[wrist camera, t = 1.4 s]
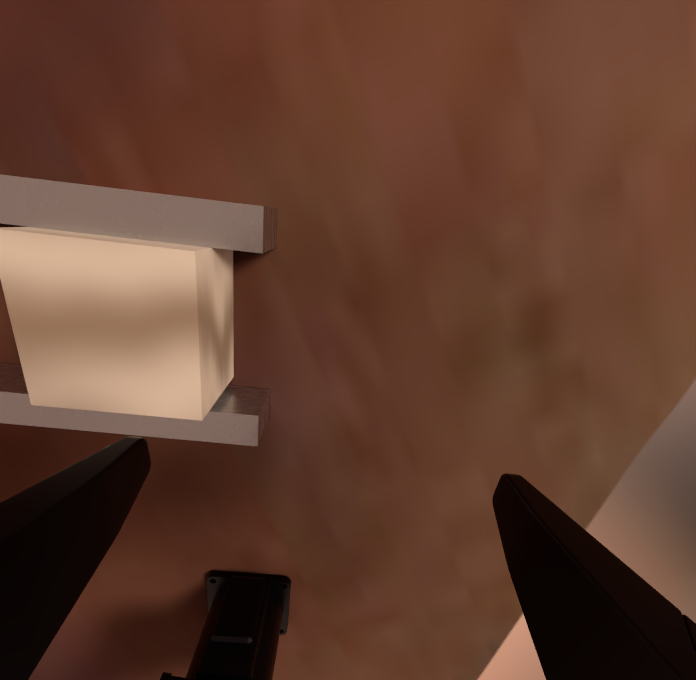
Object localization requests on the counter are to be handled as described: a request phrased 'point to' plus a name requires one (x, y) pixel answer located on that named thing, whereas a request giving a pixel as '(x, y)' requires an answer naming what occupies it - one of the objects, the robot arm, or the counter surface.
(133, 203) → the chute
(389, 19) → the counter surface
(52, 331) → the block
